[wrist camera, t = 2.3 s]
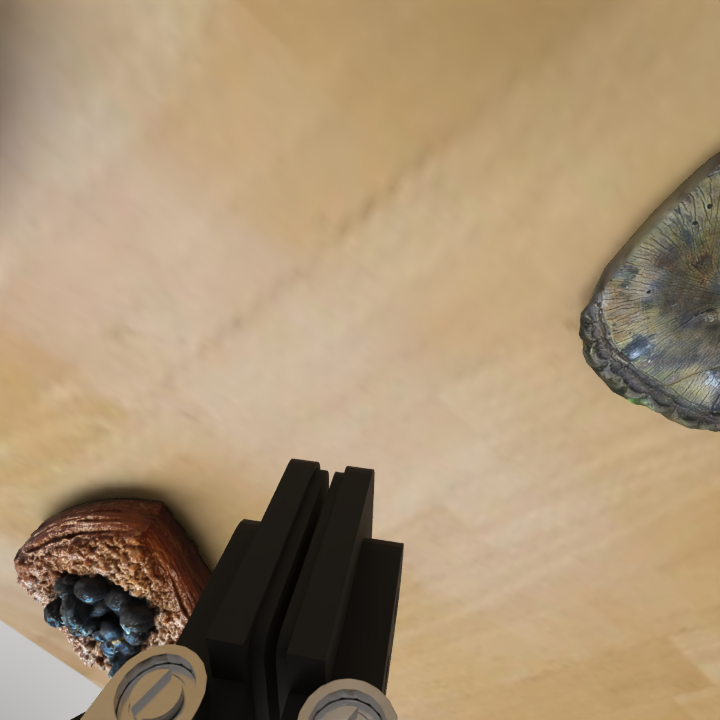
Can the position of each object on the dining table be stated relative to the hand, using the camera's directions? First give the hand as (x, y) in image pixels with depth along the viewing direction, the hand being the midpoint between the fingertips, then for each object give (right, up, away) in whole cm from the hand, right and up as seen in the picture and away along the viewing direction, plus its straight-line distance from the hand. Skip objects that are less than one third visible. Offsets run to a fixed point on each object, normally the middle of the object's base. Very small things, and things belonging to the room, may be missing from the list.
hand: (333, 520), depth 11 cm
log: (+15, +6, +10) cm, 19 cm away
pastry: (-14, -10, +24) cm, 29 cm away
